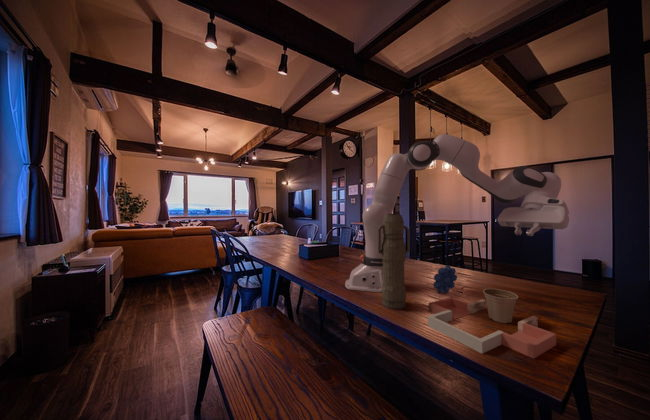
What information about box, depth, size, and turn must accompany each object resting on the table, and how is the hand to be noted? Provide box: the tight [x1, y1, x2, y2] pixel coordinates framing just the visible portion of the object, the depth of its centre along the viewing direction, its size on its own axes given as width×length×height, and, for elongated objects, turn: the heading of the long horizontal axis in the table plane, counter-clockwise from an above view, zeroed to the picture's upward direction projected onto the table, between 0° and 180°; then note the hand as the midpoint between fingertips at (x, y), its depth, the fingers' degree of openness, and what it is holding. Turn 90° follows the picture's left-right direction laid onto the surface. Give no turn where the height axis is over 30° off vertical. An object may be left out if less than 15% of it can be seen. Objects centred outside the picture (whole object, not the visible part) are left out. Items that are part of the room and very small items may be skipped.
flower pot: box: [482, 288, 519, 324], centre depth 79 cm, size 9×9×9 cm
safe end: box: [427, 310, 504, 354], centre depth 70 cm, size 10×16×3 cm, turn 27°
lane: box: [467, 299, 539, 333], centre depth 79 cm, size 9×16×3 cm, turn 27°
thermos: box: [377, 213, 410, 310], centre depth 91 cm, size 9×12×35 cm
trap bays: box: [428, 296, 557, 360], centre depth 75 cm, size 12×30×3 cm, turn 27°
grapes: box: [432, 264, 458, 294], centre depth 105 cm, size 12×7×12 cm, turn 104°
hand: (523, 234), depth 86 cm, fingers open, 2 cm apart
